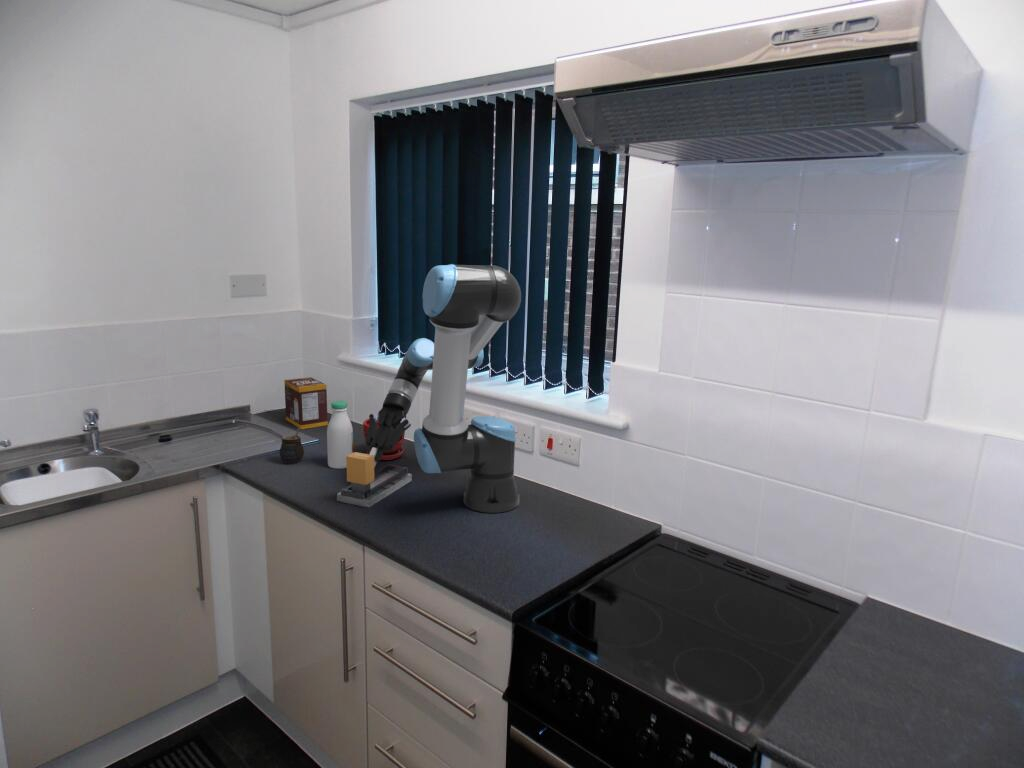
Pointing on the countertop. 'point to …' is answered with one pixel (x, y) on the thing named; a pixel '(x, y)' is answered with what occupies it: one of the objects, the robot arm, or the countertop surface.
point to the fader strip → (377, 486)
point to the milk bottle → (339, 436)
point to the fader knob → (360, 471)
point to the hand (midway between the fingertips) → (367, 470)
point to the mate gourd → (291, 449)
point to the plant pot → (387, 455)
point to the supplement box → (306, 402)
